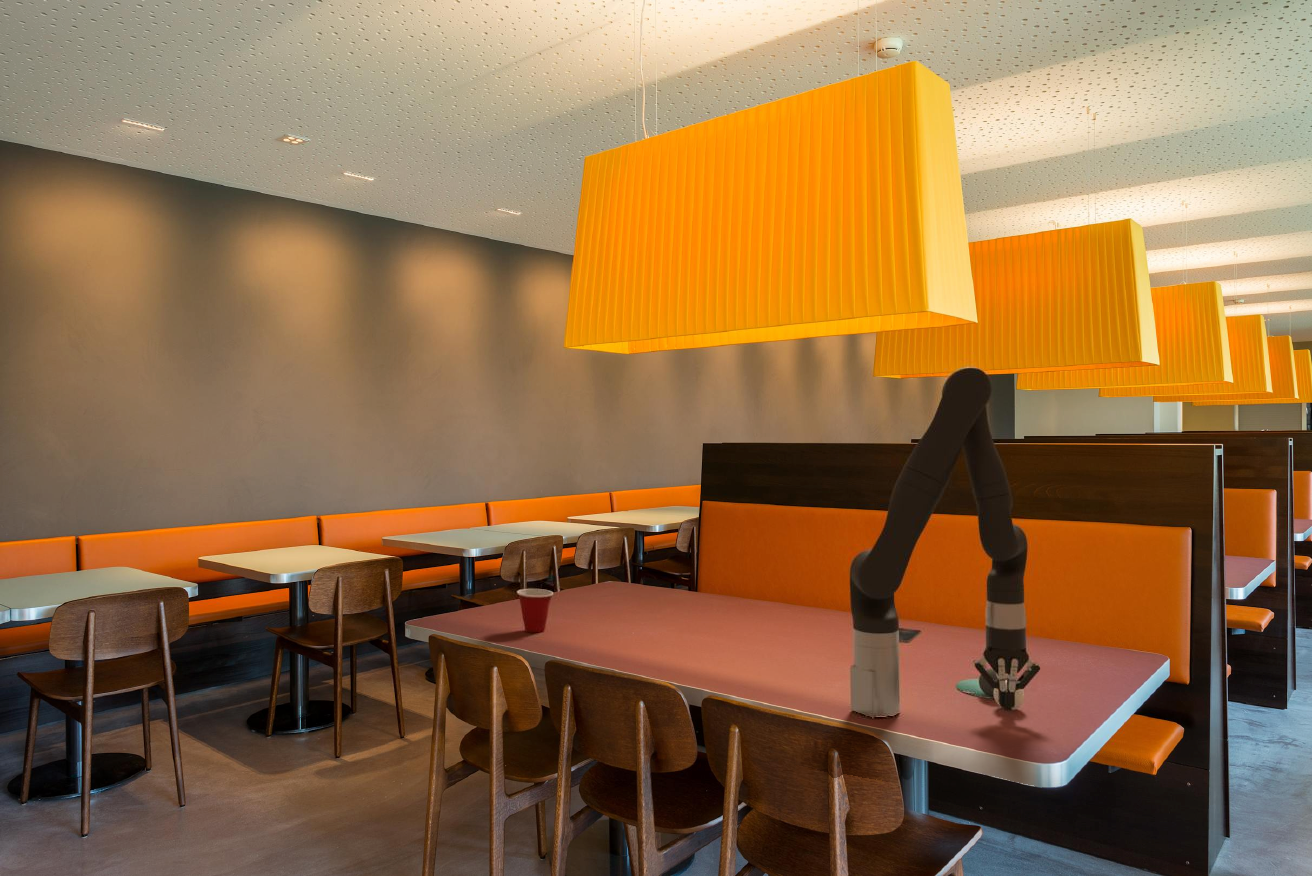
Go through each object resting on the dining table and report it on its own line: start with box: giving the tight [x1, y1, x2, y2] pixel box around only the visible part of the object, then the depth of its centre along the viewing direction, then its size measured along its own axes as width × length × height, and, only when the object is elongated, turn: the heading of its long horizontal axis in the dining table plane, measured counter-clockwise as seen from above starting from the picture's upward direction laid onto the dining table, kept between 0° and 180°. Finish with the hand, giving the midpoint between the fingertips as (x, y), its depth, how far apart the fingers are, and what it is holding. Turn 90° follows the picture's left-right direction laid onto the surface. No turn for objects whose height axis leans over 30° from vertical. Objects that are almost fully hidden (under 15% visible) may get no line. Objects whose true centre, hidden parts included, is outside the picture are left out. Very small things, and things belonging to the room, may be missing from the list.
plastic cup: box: [516, 588, 554, 633], centre depth 250 cm, size 11×11×12 cm
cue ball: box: [993, 680, 1026, 711], centre depth 175 cm, size 6×6×6 cm
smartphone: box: [899, 627, 922, 643], centre depth 239 cm, size 8×1×15 cm
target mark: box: [955, 678, 994, 699], centre depth 189 cm, size 14×14×1 cm
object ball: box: [978, 668, 1007, 697], centre depth 183 cm, size 6×6×6 cm
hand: (1006, 708), depth 170 cm, fingers closed
